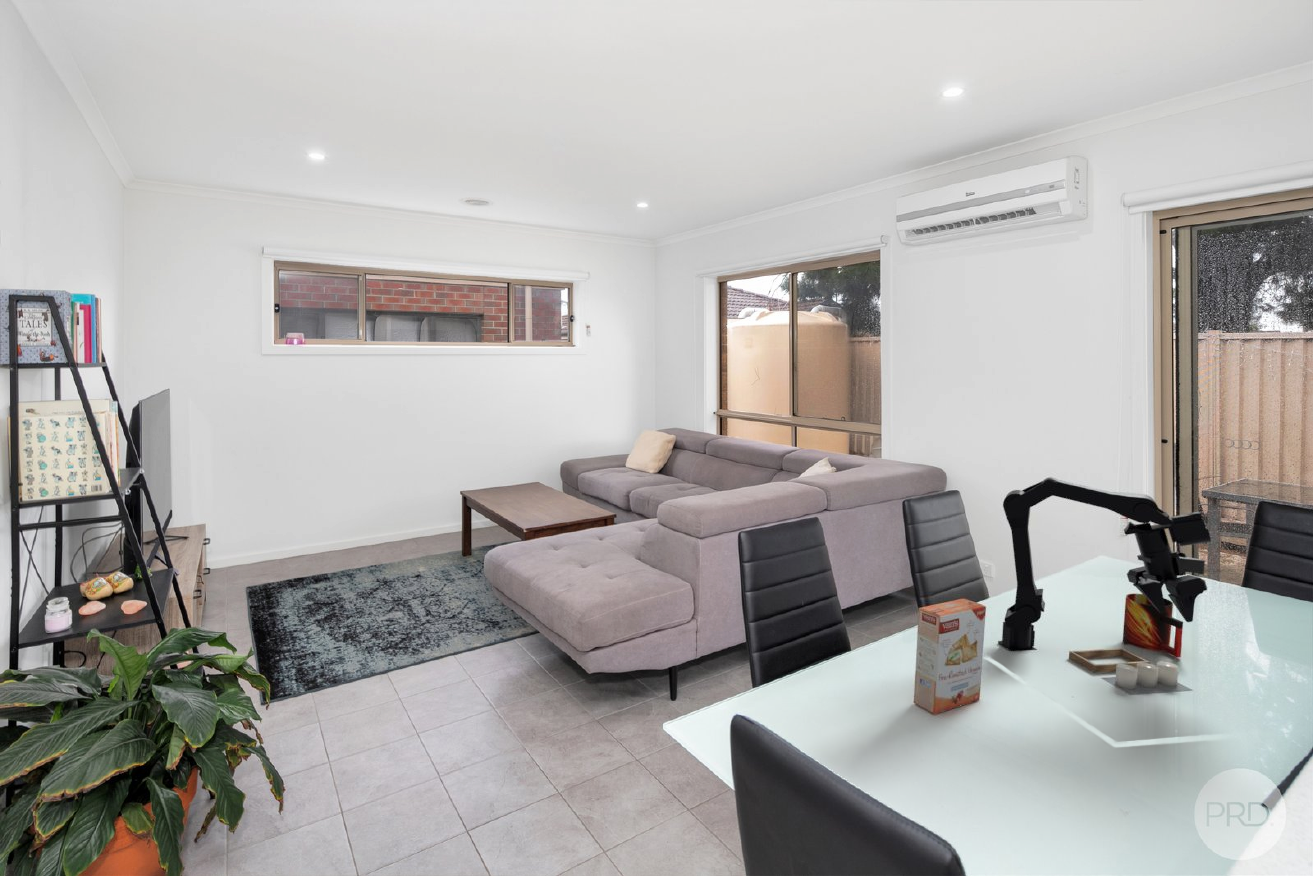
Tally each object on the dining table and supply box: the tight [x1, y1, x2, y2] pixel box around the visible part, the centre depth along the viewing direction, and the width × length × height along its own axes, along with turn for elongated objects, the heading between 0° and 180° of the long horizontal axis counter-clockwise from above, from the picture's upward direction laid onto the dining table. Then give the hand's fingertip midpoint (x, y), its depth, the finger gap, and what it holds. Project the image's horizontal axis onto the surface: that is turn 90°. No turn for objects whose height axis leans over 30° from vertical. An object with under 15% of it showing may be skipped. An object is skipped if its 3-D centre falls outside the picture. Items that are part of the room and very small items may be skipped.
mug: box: [1122, 593, 1184, 659], centre depth 170 cm, size 10×14×12 cm
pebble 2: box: [1137, 663, 1158, 688], centre depth 149 cm, size 4×4×4 cm
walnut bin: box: [1068, 647, 1151, 674], centre depth 160 cm, size 14×8×2 cm, turn 98°
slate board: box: [1101, 676, 1193, 696], centre depth 150 cm, size 15×8×1 cm, turn 98°
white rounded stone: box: [1115, 664, 1138, 689], centre depth 149 cm, size 4×4×4 cm
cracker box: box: [913, 597, 987, 715], centre depth 142 cm, size 14×6×21 cm, turn 117°
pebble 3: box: [1156, 661, 1180, 686], centre depth 150 cm, size 4×4×4 cm
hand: (1175, 617), depth 153 cm, fingers open, 9 cm apart
